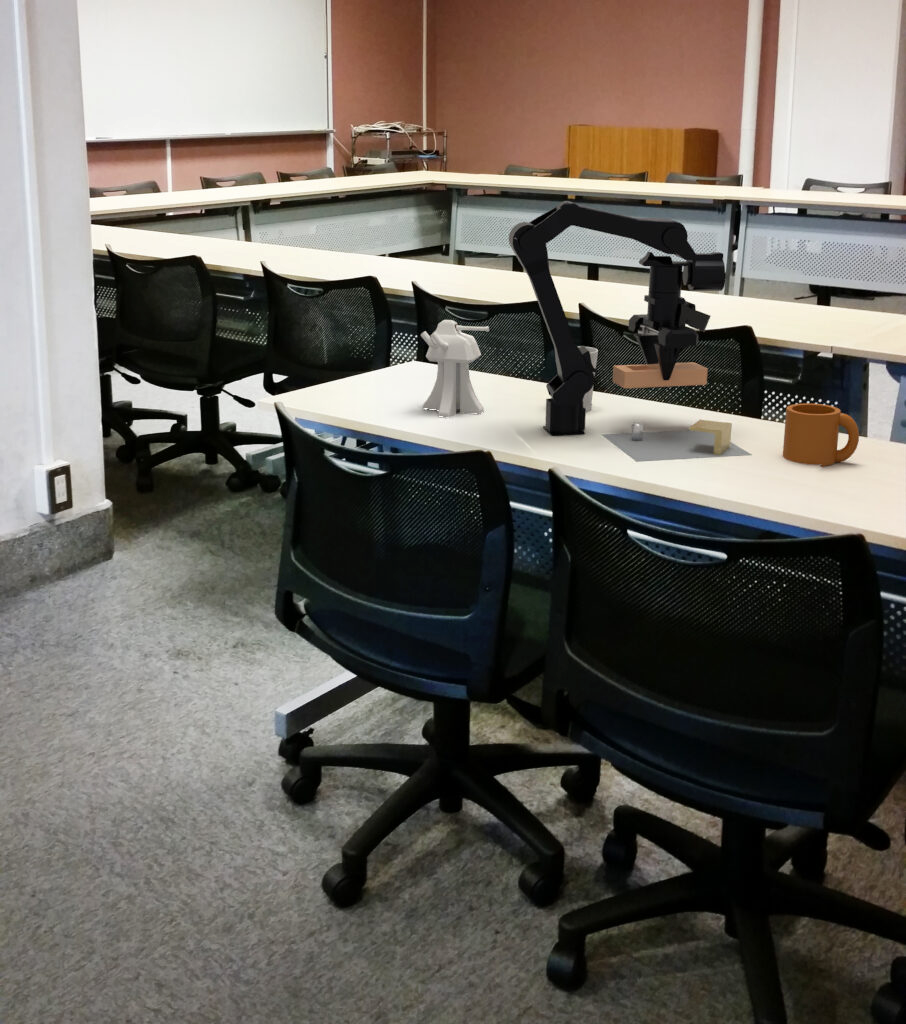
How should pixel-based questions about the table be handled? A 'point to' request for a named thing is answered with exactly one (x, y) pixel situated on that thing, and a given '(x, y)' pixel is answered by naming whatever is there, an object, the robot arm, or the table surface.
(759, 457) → the table surface
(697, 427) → the keeper
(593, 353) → the cup
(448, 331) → the white mech figurine
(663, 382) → the link
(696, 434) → the mat
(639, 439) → the cylinder
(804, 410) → the mug
